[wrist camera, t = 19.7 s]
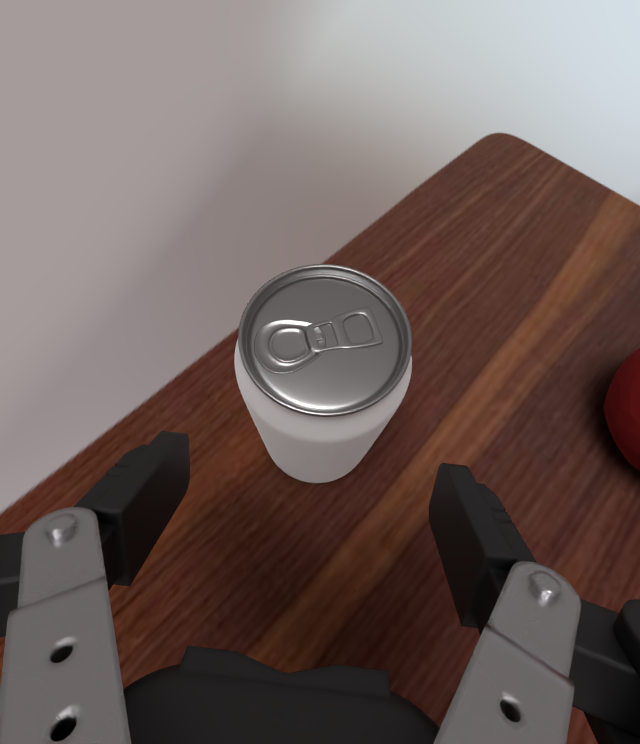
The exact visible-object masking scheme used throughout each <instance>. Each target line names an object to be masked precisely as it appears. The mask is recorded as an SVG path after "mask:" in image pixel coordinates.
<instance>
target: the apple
mask: <svg viewBox="0 0 640 744" xmlns="http://www.w3.org/2000/svg"><path fill="white" fill-rule="evenodd" d="M604 413H605V418H606V421H607V424H608V427H609V430H610V433H611V435H612V437H613V439H614V441H615V443H616V445H617V447H618V448H619V450H620V451H621V453H622V454H623V456H624V457H625V458H626V460H627V461H628V462H629V463H630V464H631V465H632V466H633V467H634V468H635V469H637V470H639V471H640V348H639V349H637V350H636V351H635V352H634V353H632V354H631V355H630V356H629V357H627V359H626V360H625V361H624V362H623V364H622V365H621V366H620V367H619V369H618V370H617V372H616V374H615V375H614V377H613V380H612V382H611V384H610V386H609V389H608V392H607V396H606V399H605V404H604Z"/></svg>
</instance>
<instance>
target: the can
mask: <svg viewBox="0 0 640 744" xmlns="http://www.w3.org/2000/svg"><path fill="white" fill-rule="evenodd" d="M411 351H412V333H411V328H410V324H409V320H408V318H407V315H406V313H405V311H404V309H403V307H402V305H401V304H400V302H399V301H398V300H397V298H396V297H395V296H394V295H393V294H392V292H391V291H390V290H389V289H387V288H386V287H385V286H384V285H383V284H382V283H380V282H379V281H377V280H376V279H374V278H373V277H371V276H369V275H367V274H365V273H363V272H361V271H358V270H355V269H352V268H349V267H345V266H340V265H332V264H314V265H307V266H301V267H297V268H294V269H291V270H289V271H286V272H284V273H281V274H279V275H278V276H276V277H274V278H273V279H271V280H270V281H268V282H267V283H266V284H264V285H263V286H262V287H261V288H260V289H259V290H258V291H257V292H256V293H255V294H254V296H253V297H252V298H251V300H250V301H249V303H248V304H247V306H246V308H245V310H244V312H243V315H242V317H241V321H240V325H239V331H238V340H237V344H236V349H235V372H236V378H237V382H238V386H239V388H240V391H241V394H242V396H243V399H244V401H245V403H246V406H247V408H248V410H249V412H250V414H251V417H252V419H253V421H254V423H255V425H256V427H257V430H258V432H259V434H260V436H261V438H262V440H263V442H264V444H265V446H266V448H267V450H268V452H269V454H270V456H271V458H272V459H273V461H274V462H275V464H276V465H277V466H278V467H279V468H280V469H281V470H282V471H284V472H285V473H286V474H288V475H289V476H291V477H293V478H295V479H298V480H300V481H304V482H309V483H325V482H330V481H333V480H336V479H339V478H341V477H343V476H344V475H346V474H347V473H349V472H350V471H351V470H353V469H354V468H355V467H356V466H357V464H358V463H359V462H360V461H361V460H362V458H363V457H364V456H365V454H366V453H367V452H368V450H369V449H370V447H371V446H372V445H373V443H374V442H375V440H376V439H377V438H378V436H379V435H380V433H381V432H382V430H383V429H384V428H385V426H386V425H387V423H388V422H389V420H390V419H391V417H392V416H393V415H394V413H395V412H396V410H397V408H398V407H399V405H400V403H401V401H402V400H403V398H404V396H405V393H406V391H407V388H408V385H409V381H410V377H411V369H412V357H411Z"/></svg>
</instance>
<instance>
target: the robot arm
mask: <svg viewBox="0 0 640 744" xmlns="http://www.w3.org/2000/svg"><path fill="white" fill-rule="evenodd" d="M189 480H190V460H189V438H188V435H187V434H183V433H175V432H166V431H162V432H160V433H159V434H158V435H157V436H156V438H155V439H154V440H153V441H152V442H151V443H150V444H149V445H141V446H139V447H137V448H135V449H133V450H131V451H130V452H128V453H126V454H125V455H124V456H123V457H122V458H121V459H120V460H119V461H118V462H117V463H116V464H115V467H114V466H113V467H112V468H111V469H110V470H109V471H108V472H107V474H106V476H103V477H102V478H101V479H100V480H99V481H98V482H97V483H96V484H95V485H94V486H93V487H92V488H91V489H90V490H89V491H88V492H87V493H86V494H85V495H84V496H83V497H82V499H81V500H80V501H79V502H78V503H77V504H76V505H75V506H74V507H71V508H65V509H60V510H57V511H54V512H52V513H49V514H47V515H45V516H43V517H42V518H40V519H39V520H37V521H36V522H35V523H33V524H32V525H31V526H30V527H29V528H28V530H27V531H26V532H20V533H12V534H4V535H0V637H4V636H6V639H5V649H4V659H3V669H2V679H1V688H0V744H566V740H567V734H568V728H569V721H570V715H571V709H572V706H573V707H575V708H577V709H580V710H582V711H583V712H584V714H585V716H586V718H587V720H588V723H589V725H590V727H591V729H592V731H593V734H594V736H595V738H596V740H597V742H598V744H640V600H636V599H635V600H629V601H627V602H626V603H625V604H624V605H623V607H622V609H621V611H620V613H617V612H614V611H611V610H609V609H606V608H603V607H601V606H598V605H595V604H593V603H590V602H587V601H585V600H582V599H580V598H579V596H578V594H577V592H576V591H575V589H574V588H573V587H572V586H571V584H570V583H569V582H568V581H567V580H566V579H564V578H563V577H562V576H561V575H559V574H558V573H557V572H555V571H553V570H552V569H550V568H548V567H546V566H544V565H541V564H539V563H537V562H536V560H535V559H534V557H533V555H532V554H531V552H530V550H529V549H528V547H527V545H526V544H525V542H524V540H523V539H522V537H521V535H520V534H519V532H518V530H517V529H516V527H515V525H514V523H512V520H511V518H510V517H509V515H508V513H507V512H505V508H504V507H503V505H502V503H501V502H500V500H499V498H498V497H497V496H496V495H495V494H494V493H493V492H492V491H491V490H490V489H489V488H487V487H486V486H485V485H484V484H478V483H476V481H475V479H474V477H473V475H472V473H471V472H470V470H469V468H468V467H467V466H463V465H455V464H446V463H442V464H440V466H439V469H438V472H437V476H436V480H435V484H434V488H433V492H432V496H431V500H430V505H429V520H430V525H431V528H432V531H433V535H434V538H435V541H436V544H437V548H438V551H439V554H440V557H441V561H442V564H443V567H444V570H445V574H446V577H447V580H448V584H449V587H450V590H451V593H452V597H453V600H454V603H455V606H456V610H457V613H458V616H459V619H460V623H461V626H466V627H474V628H478V630H479V632H480V635H481V636H480V638H479V641H478V643H477V645H476V648H475V650H474V652H473V654H472V657H471V659H470V661H469V663H468V666H467V668H466V670H465V673H464V675H463V677H462V679H461V682H460V684H459V686H458V689H457V691H456V693H455V695H454V698H453V700H452V702H451V705H450V707H449V709H448V711H447V714H446V716H445V718H444V720H443V723H442V725H441V727H440V728H439V727H438V726H437V725H436V724H435V723H434V721H433V720H432V719H430V718H429V717H428V716H427V715H426V714H425V713H424V712H423V711H422V710H421V709H419V708H418V707H417V706H415V705H414V704H413V703H411V702H410V701H409V700H407V699H405V698H404V697H402V696H400V695H398V694H396V693H394V692H392V691H390V682H389V673H388V671H384V670H377V669H369V668H361V667H353V666H345V665H334V666H328V667H322V668H316V669H310V670H304V671H298V672H292V673H284V672H281V671H279V670H276V669H274V668H272V667H270V666H267V665H265V664H263V663H261V662H258V661H256V660H254V659H252V658H249V657H247V656H245V655H243V654H240V653H238V652H235V651H227V650H219V649H211V648H203V647H195V646H187V649H186V651H185V654H184V657H183V659H182V662H181V664H178V665H173V666H169V667H166V668H163V669H160V670H157V671H155V672H152V673H150V674H148V675H146V676H144V677H142V678H140V679H138V680H137V681H135V682H133V683H132V684H130V685H129V686H127V687H126V688H124V689H123V686H122V679H121V672H120V666H119V659H118V653H117V646H116V639H115V633H114V626H113V620H112V613H111V606H110V600H109V593H108V591H109V590H110V588H111V587H112V585H113V584H116V585H124V586H130V585H131V583H132V582H133V580H134V578H135V577H136V575H137V573H138V572H139V570H140V568H141V567H142V565H143V564H144V562H145V560H146V559H147V557H148V555H149V554H150V552H151V550H152V549H153V547H154V545H155V544H156V542H157V540H158V539H159V537H160V535H161V534H162V532H163V530H164V529H165V527H166V525H167V524H168V522H169V521H170V519H171V517H172V516H173V514H174V512H175V511H176V509H177V507H178V506H179V504H180V502H181V501H182V499H183V497H184V496H185V494H186V491H187V489H188V485H189Z"/></svg>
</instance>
